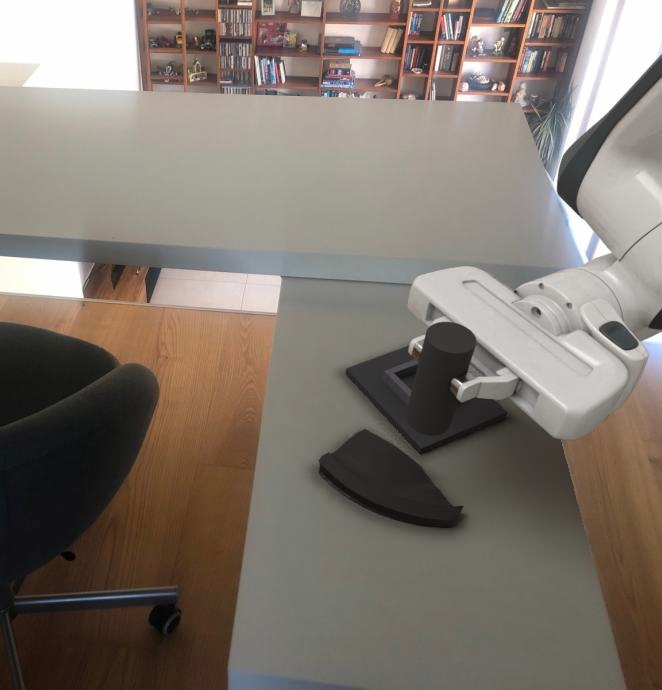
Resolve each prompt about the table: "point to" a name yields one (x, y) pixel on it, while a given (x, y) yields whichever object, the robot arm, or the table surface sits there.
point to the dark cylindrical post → (439, 377)
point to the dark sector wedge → (386, 481)
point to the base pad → (394, 393)
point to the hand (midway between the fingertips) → (434, 371)
